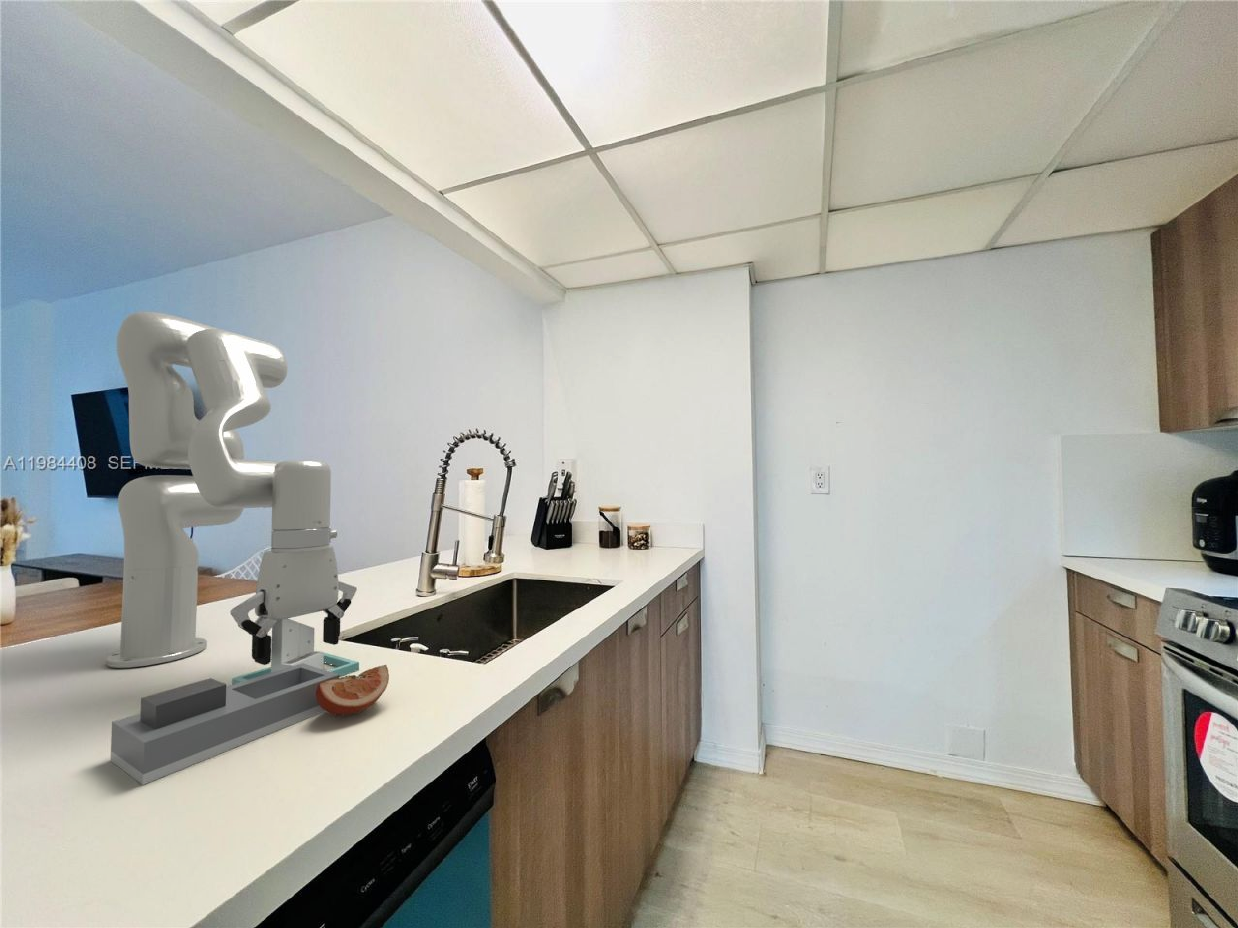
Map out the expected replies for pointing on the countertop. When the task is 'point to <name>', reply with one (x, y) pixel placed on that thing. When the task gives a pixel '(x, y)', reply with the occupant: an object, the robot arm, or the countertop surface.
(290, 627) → the white angled block
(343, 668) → the tray frame
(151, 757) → the grey slotted holder
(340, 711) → the fruit slice
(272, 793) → the countertop surface
